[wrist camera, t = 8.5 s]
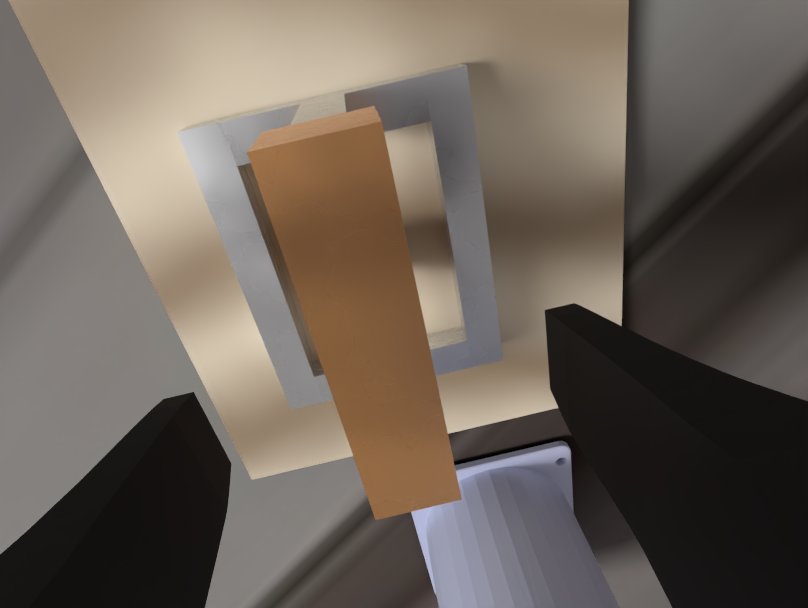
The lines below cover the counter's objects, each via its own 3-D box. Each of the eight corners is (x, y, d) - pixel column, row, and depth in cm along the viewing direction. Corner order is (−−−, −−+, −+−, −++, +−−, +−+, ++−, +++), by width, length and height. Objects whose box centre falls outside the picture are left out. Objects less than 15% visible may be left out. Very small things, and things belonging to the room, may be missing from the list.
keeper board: (607, 375, 22) (664, 449, 18) (256, 458, 22) (238, 550, 18) (609, -146, 13) (721, -218, 10) (27, -13, 13) (-103, -31, 9)
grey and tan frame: (495, 345, 19) (562, 476, 14) (293, 392, 19) (274, 543, 14) (459, 63, 14) (538, 84, 9) (187, 126, 14) (89, 189, 9)
